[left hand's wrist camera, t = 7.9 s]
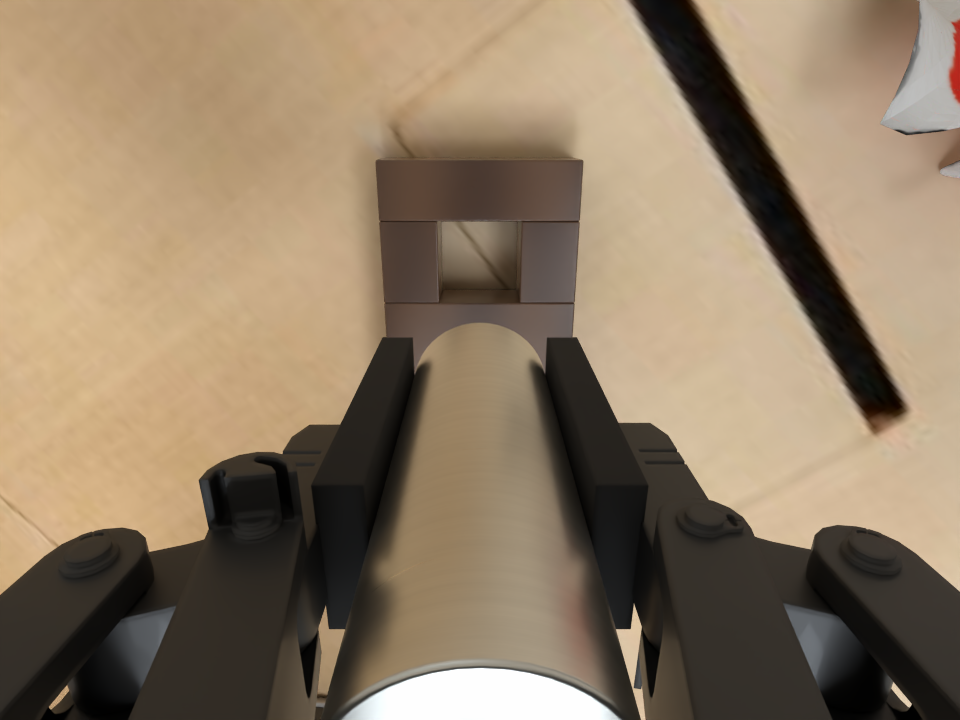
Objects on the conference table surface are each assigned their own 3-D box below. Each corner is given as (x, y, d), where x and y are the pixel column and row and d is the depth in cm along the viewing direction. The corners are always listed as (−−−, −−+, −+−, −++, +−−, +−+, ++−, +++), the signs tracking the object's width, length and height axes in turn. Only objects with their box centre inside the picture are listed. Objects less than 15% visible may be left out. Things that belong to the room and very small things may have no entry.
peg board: (574, 157, 30) (610, 165, 22) (553, 531, 39) (573, 639, 30) (384, 157, 30) (348, 165, 22) (406, 531, 39) (385, 639, 30)
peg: (547, 322, 14) (673, 664, 5) (542, 440, 16) (636, 894, 6) (412, 321, 14) (287, 663, 5) (417, 441, 16) (325, 893, 6)
